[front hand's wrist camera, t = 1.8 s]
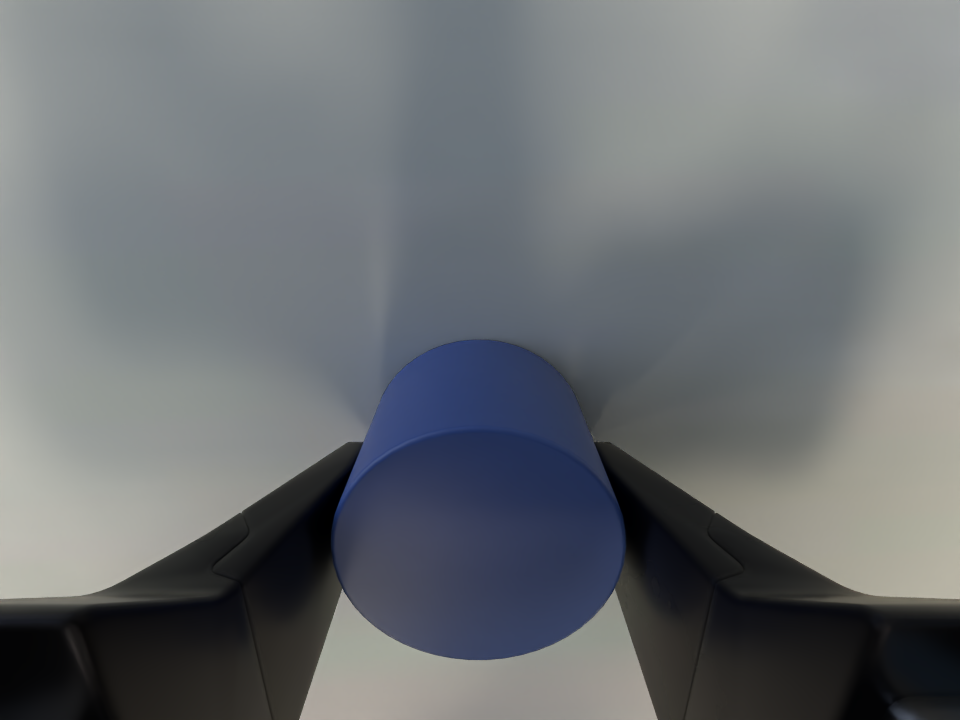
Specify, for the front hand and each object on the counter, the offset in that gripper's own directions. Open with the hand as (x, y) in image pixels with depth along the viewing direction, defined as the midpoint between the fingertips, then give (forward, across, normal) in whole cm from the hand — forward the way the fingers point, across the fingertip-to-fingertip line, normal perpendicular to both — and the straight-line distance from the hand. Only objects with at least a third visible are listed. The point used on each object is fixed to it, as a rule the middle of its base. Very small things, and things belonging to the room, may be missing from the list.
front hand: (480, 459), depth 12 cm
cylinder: (+1, 0, 0) cm, 1 cm away
